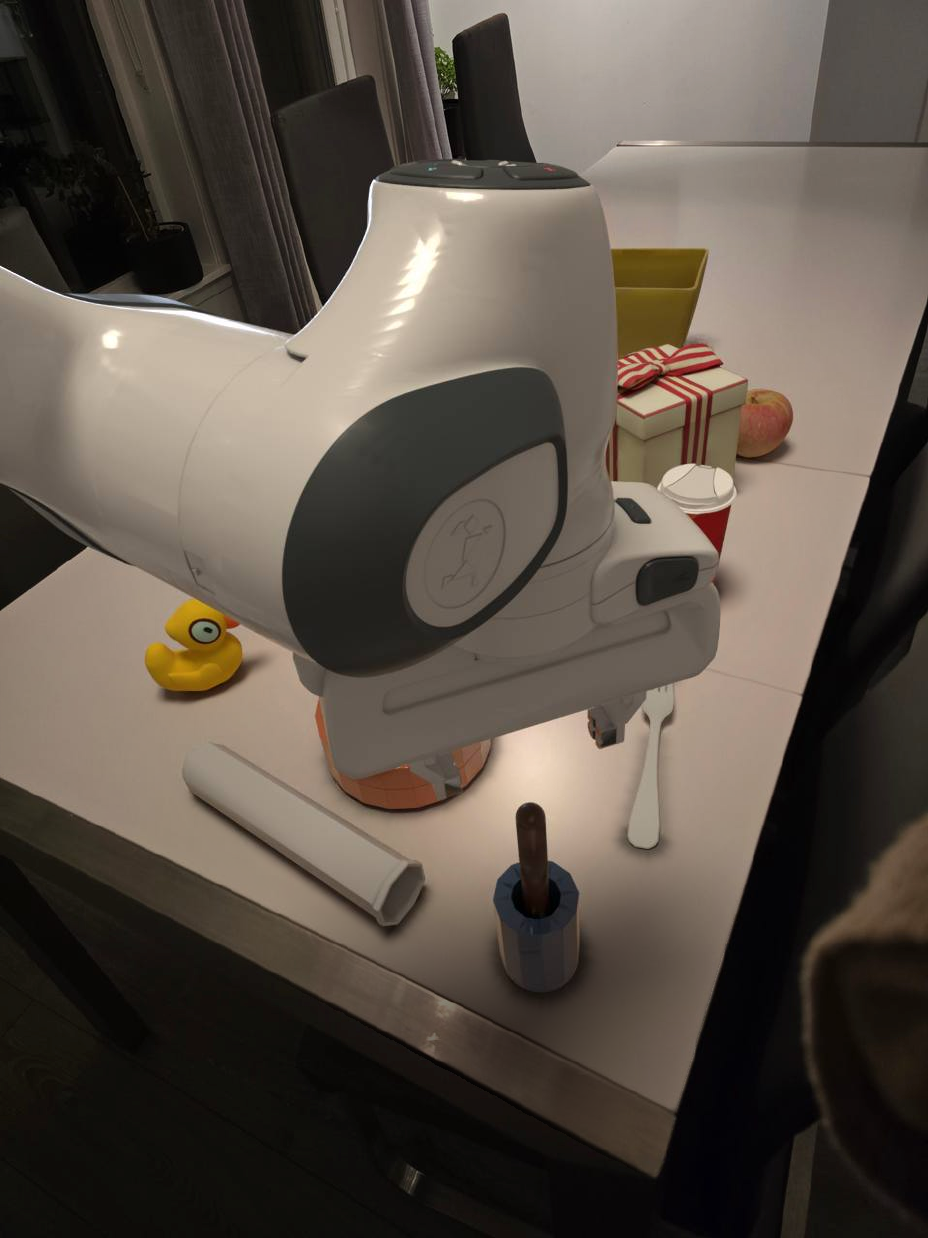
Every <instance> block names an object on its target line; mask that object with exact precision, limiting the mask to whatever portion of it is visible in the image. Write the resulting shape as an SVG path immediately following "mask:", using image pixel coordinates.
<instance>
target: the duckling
mask: <svg viewBox="0 0 928 1238" xmlns="http://www.w3.org/2000/svg"><path fill="white" fill-rule="evenodd" d="M239 626H241V624H239V623H237V622H235V621H233V620H232V619H230V618H229V617H227V616H226V615H224V614H222V613H220V612H219V611H217V610H215V609H213V608H211V607H209V606H208V605H206V604H204V603H202V602H200V601H198V600H197V599H195V598H191V599H189V600H186V601H185V602H183V603H182V604H181V605H180V606H179V607H178V608H177V609H176V610H175V611H174V613H173V614H172V615H171V616H170V618H168V619H167V621H166V622H165V624H164V630H165V632H166V634H167V635H168V637H169V638H170V639H172V640H173V641H175V642H177V643H178V644H180V645H181V646H182V647H183V648H184V649H171V648H170V647H169V646H167V645H166V644H164V643H163V642H160V641H155V642H153V643H151V644H149V645H148V647H147V648H146V650H145V653H144V664H145V668H146V670H147V672H148V673H149V675H150V677H151V678H152V679H153V681H154V682H155V683H156V684H157V685H158V686H159V687H161V688H162V689H166V690H169V691H173V692H190V691H192V692H203V691H207V690H210V689H212V688H214V687H216V686H218V685H220V684H221V685H222V684H223V683H225V682H227V681H228V680H229V679H231V677H232V676H234V674H235V673H236V671H237V670H238V668H239V667H240V665H241V663H242V661H243V656H244V655H243V653H244V652H243V645H242V643H241V641H240V640H239V638H238V637H236V635H234V634H233V633H231V632H229V631H227V630H231V629H235V628H237V627H239Z"/></svg>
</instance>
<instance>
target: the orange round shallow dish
mask: <svg viewBox="0 0 928 1238" xmlns="http://www.w3.org/2000/svg"><path fill="white" fill-rule="evenodd" d="M314 719H315V723H316V727H317V731H318V736H319V739H320V743H321V745H322V748H323V751H324V754H325V758H326V761H327V764H328V767H329V770H330V773H331V775H332V777H333V778H334V780H335V781H336V782H337V784H338V785H339V786H340V787H341V788H342V790H343V791H344V792H345V793H347V794H348V795H350V796H352V797H354V798H355V799H357V800H358V801H360V802H362V803H363V804H366V805H370V806H375V807H379V808H384V809H387V810H398V809H416V808H421V807H425V806H428V805H430V804H434V803H437V802H440V801H444V800H446V799H447V798H445V799H442V800H439V801H438V800H437V798H436V795H435V792H434V790H433V787H432V784H431V783H429V782H428V781H426V780H424V779H423V778H421V777H419V776H418V775H416V774H414V773H412V772H411V771H410V768H409V765H404V766H401V767H398V768H395V769H391V770H388V771H385V772H381V773H378V774H375V775H372V776H369V777H365V778H361V779H355V778H351V777H349V776H347V775H344V774H342V773H340V772H338V771H337V770H336V769H335V767H334V763H333V759H332V756H331V752H330V748H329V744H328V740H327V736H326V732H325V727H324V722H323V717H322V712H321V707H320V702H319V698H318V699H317V705H316V709H315V714H314ZM491 748H492V739H489V740H486V741H483V742H479V743H476V744H473V745H470V746H466V747H463V748H460V749H457V750H453V751H450V752H452V755H453V757H454V760H455V765H456V766H457V768H458V770H459V773H460V775H461V781H462V784H461V785H462V788H463V789H464V788H465V787H466V786H468V785H469V783H470V782H471V781H472V780H473V779H474V778H475V777H476V776H477V774H478V773H479V772H480V771H481V770H482V768H484V765H485V763H486V760H487V758H488V755H489V752H490V751H491ZM447 753H448V752H447Z"/></svg>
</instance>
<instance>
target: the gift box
mask: <svg viewBox="0 0 928 1238" xmlns="http://www.w3.org/2000/svg"><path fill="white" fill-rule="evenodd" d="M621 356H622V357H624V359H621V360H618V389H617V414H616V419H615V424H614V427H613V430H612V433H611V435H610V438H609V441H608V445H607V449H606V467H607V471H608V475H609V478H610V480H611V481H616V482H640V483H647V484H650V485H652V486H654V487H655V488H656V489H657V487H658V485H659V484H660V483H661V481H662V479H663V476H664V475H665V474H666V473H667V472H668V471H669V470H671V469H672V468H675V467H677V466H681V465H685V464H696V466H700V465H705V466H711V467H712V468H713V469H717V467H718V468H720V469H722V470H724V471H726V472H727V473H728V474H729V475H730V476H731V478H732V479H733V480H734V477H735V470H736V469H735V468H736V458H737V454H736V451H737V443H738V434H739V424H740V416H741V408H742V405H744V404H746V399H747V391H749V380H748V378H745V377H744V376H741V375H739V374H737V373H734V372H732V371H730V370H729V369H725V368H723V367H721V366H723V365H724V362H723V361H722V360H721V358H720V357H719V356H718V355H717V354H716V353H715V352H714V351H713V349H712V348H711V347H710V346H709V345H708V343H707V344H706V343H703V342H699V343H691V344H687V345H684V347H682V348H680V349H678V348H676V347H674V346H671V345H669V344H666V345H663V346H660V347H651V348H647V349H643V350H639V351H636V352H633V353H631V354H625V355H621ZM699 468H700V467H699ZM715 471H716V470H715Z"/></svg>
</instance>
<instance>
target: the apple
mask: <svg viewBox="0 0 928 1238" xmlns="http://www.w3.org/2000/svg"><path fill="white" fill-rule="evenodd" d="M793 421H794V410H793V406H792V404H791V402H790V401H789V399H788V398H787V397H786V396H785V395H784V394H783V393H781V392H779V391H775V390H772V389H764V388H754V389H748V390H747V399H746V404H744V405H742V408H741V416H740V424H739V434H738V443H737V451H736V455H738V456H740V457H744V458H757V457H761V456H764V455H767V454H769V453H771V452H772V451H773V450H775V449H776V448H777V447H778V446H779V445H780V444H781V443H783V442H784V440H785V439H786V437H787V436H788V434H789V432H790V430H791V427H792V425H793V423H794V422H793Z"/></svg>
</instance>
